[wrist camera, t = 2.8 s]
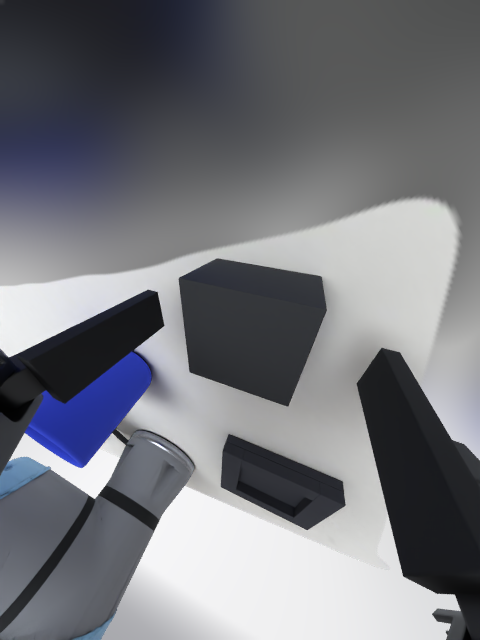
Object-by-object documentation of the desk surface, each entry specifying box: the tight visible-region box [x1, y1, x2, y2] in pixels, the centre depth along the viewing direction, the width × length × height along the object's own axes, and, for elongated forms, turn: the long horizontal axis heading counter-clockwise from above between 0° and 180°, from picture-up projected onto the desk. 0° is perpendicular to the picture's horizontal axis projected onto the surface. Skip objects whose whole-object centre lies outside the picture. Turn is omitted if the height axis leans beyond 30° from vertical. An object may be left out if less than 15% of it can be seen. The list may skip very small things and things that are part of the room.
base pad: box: [221, 434, 345, 530], centre depth 27 cm, size 15×15×2 cm
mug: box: [25, 352, 152, 468], centre depth 19 cm, size 8×12×10 cm
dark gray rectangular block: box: [179, 259, 327, 406], centre depth 12 cm, size 7×7×4 cm
